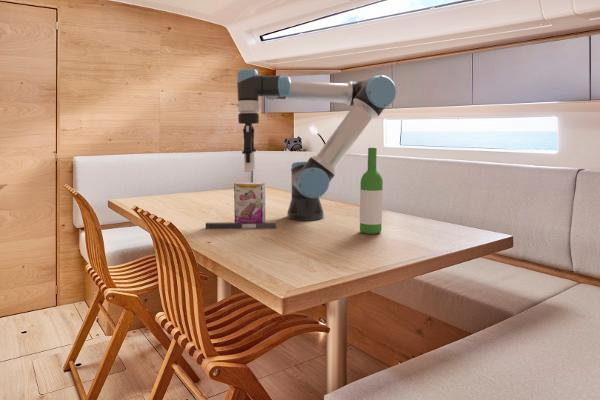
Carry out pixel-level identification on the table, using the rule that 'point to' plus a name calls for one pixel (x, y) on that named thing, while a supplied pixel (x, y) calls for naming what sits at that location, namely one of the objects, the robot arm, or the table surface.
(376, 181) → the wine bottle
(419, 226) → the table surface
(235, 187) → the candy bar box
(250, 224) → the price rail
